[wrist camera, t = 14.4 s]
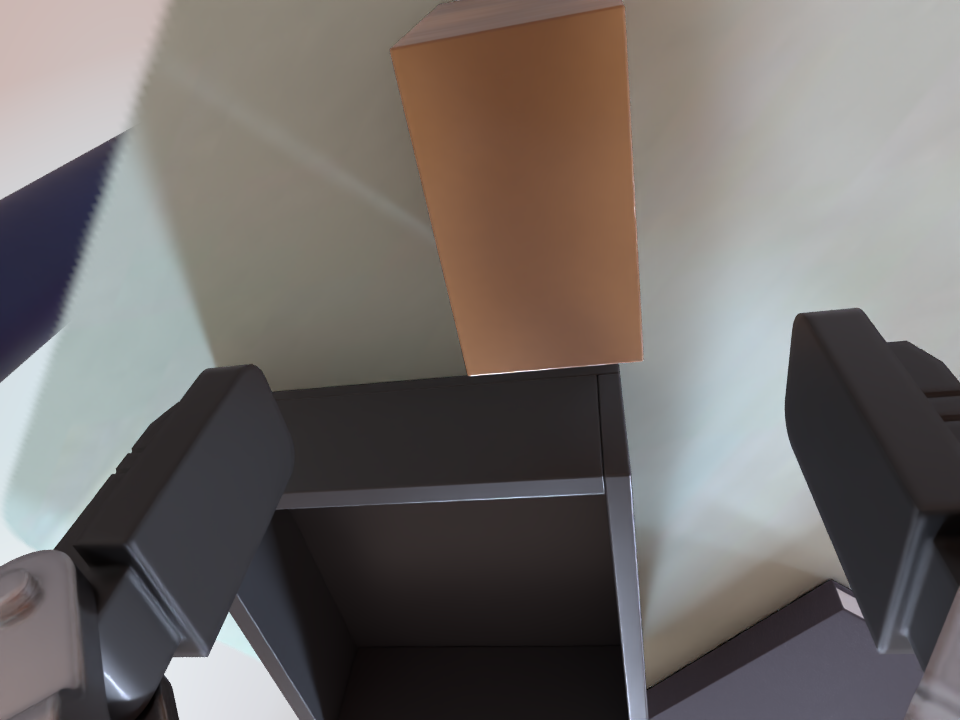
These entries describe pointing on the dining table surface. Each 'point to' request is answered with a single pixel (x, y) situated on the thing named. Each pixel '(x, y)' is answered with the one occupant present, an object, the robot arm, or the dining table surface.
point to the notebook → (795, 670)
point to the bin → (454, 552)
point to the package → (528, 177)
